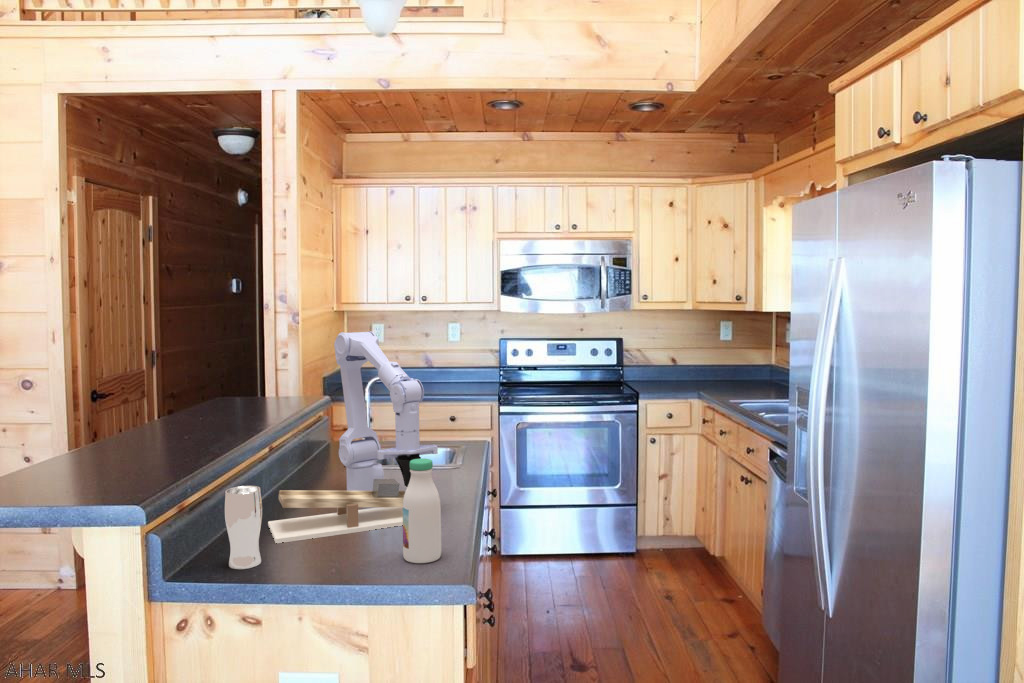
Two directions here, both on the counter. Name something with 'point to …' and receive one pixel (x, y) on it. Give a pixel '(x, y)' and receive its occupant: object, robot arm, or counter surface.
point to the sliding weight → (385, 488)
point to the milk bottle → (421, 515)
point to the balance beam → (335, 499)
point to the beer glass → (243, 525)
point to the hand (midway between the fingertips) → (408, 485)
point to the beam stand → (336, 523)
